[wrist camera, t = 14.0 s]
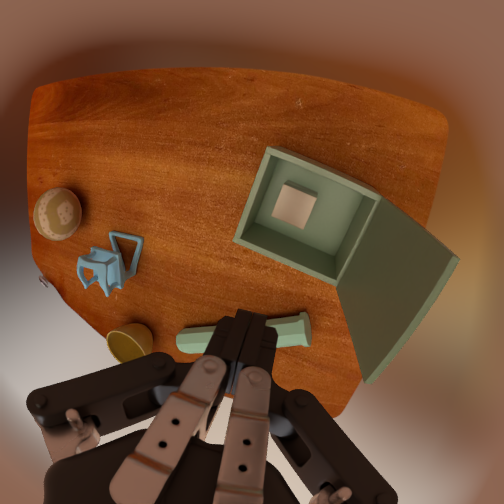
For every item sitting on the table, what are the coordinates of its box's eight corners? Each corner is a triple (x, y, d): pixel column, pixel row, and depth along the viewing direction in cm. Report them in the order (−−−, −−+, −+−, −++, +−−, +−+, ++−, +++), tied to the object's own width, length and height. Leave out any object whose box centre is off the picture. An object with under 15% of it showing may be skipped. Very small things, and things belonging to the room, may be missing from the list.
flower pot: (117, 324, 61) (99, 342, 55) (137, 305, 57) (118, 323, 50) (147, 356, 62) (132, 375, 56) (171, 340, 58) (155, 361, 52)
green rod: (174, 359, 52) (307, 351, 43) (167, 329, 52) (301, 315, 44) (190, 351, 57) (313, 341, 49) (184, 324, 58) (308, 308, 49)
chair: (114, 268, 55) (76, 295, 44) (111, 230, 52) (69, 252, 41) (145, 277, 54) (108, 308, 43) (143, 237, 51) (102, 262, 40)
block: (317, 192, 40) (317, 198, 36) (305, 221, 42) (303, 230, 38) (287, 179, 41) (283, 183, 37) (276, 208, 43) (270, 216, 38)
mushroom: (32, 197, 51) (29, 189, 40) (74, 189, 58) (81, 179, 46) (39, 243, 53) (36, 247, 42) (80, 234, 60) (88, 235, 48)
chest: (249, 223, 45) (232, 241, 37) (278, 145, 40) (267, 145, 32) (336, 261, 44) (338, 287, 36) (372, 186, 39) (384, 197, 31)
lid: (363, 383, 22) (371, 384, 22) (453, 255, 16) (460, 259, 16) (335, 288, 36) (341, 290, 36) (382, 196, 30) (388, 199, 30)
